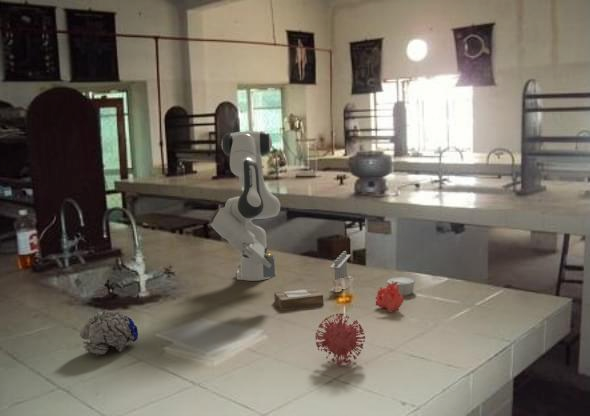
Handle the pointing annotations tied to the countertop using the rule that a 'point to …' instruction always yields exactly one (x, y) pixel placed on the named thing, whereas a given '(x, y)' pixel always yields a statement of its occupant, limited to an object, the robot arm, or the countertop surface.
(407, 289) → the ramekin
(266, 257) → the ball
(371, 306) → the countertop surface
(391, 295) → the protein model
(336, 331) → the virus model
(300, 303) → the dock
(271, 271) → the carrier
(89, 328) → the educational model
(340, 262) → the test tube rack
